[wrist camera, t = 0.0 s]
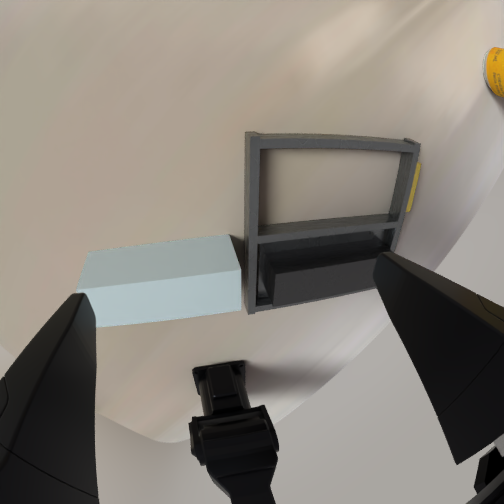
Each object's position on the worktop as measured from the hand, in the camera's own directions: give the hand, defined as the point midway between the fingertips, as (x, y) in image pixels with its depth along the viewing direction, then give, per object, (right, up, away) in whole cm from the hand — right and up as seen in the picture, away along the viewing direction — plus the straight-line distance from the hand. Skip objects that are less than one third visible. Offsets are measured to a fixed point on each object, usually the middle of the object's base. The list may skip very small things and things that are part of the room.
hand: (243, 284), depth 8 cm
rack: (+7, +4, +18) cm, 20 cm away
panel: (-8, 0, +16) cm, 18 cm away
